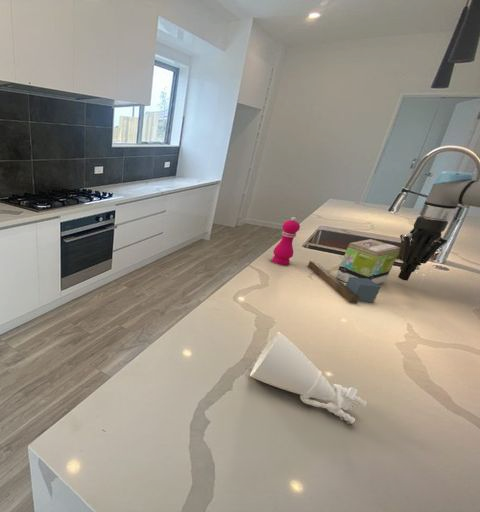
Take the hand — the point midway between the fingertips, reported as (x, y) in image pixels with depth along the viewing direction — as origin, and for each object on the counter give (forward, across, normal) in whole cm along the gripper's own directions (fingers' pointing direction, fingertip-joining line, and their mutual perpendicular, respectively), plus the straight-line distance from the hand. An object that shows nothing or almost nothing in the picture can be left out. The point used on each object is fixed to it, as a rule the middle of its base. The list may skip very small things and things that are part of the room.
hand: (402, 278), depth 112 cm
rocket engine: (+2, +62, +67) cm, 91 cm away
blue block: (+2, +23, +16) cm, 28 cm away
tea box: (+3, +14, +1) cm, 14 cm away
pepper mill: (+3, +38, -10) cm, 40 cm away
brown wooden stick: (+2, +27, +6) cm, 28 cm away
